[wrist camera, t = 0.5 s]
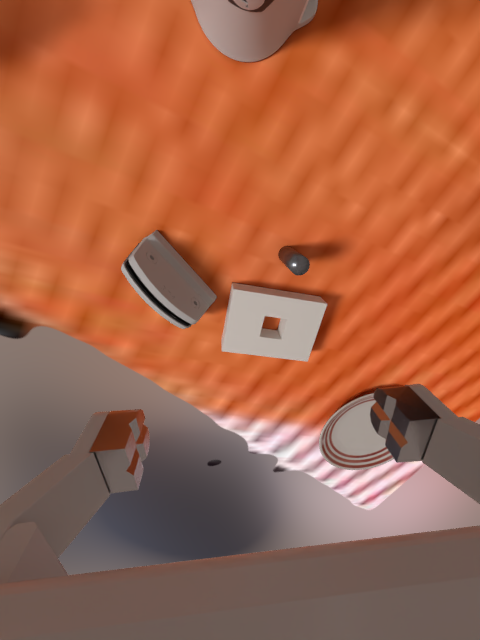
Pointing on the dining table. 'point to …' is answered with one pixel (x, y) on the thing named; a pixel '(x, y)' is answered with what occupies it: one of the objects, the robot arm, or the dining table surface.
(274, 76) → the dining table surface
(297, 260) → the pin
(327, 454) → the dinner plate
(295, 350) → the grey block with hole
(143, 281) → the grey curved slotted block
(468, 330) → the dining table surface
